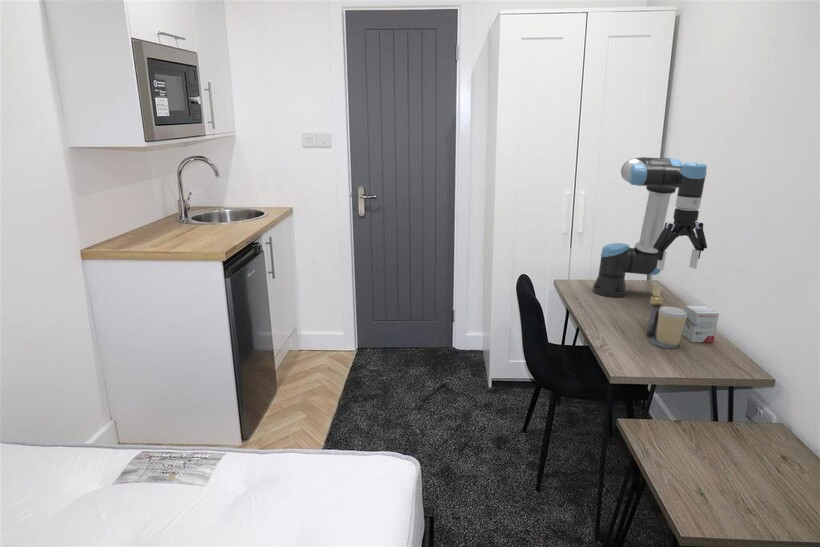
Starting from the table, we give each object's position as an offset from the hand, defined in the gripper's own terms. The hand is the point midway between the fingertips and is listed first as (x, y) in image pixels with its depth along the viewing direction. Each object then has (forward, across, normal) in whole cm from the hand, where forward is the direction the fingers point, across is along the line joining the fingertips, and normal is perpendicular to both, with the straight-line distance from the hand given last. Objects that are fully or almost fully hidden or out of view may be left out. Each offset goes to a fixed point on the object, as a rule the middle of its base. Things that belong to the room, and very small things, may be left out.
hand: (676, 268), depth 193 cm
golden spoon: (+16, +4, +12) cm, 20 cm away
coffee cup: (+28, +2, 0) cm, 28 cm away
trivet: (+28, 0, 0) cm, 29 cm away
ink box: (+29, +16, +2) cm, 33 cm away
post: (+28, 0, +7) cm, 29 cm away
